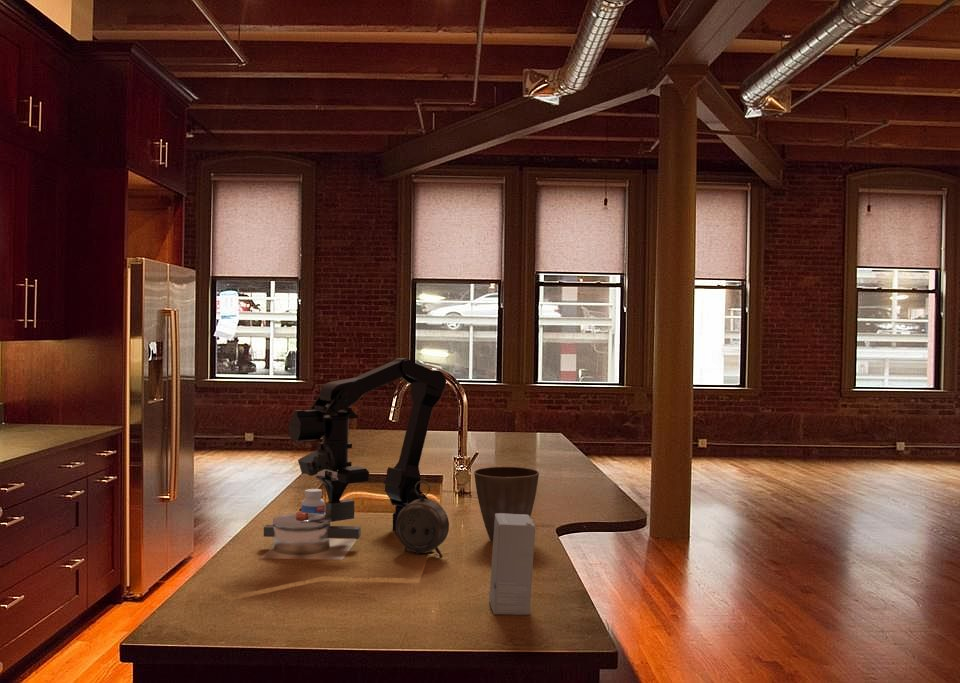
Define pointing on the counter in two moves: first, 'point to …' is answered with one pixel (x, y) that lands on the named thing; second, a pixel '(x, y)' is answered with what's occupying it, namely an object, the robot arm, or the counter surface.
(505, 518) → the skincare box
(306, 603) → the counter surface
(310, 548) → the cooker pot
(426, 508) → the alarm clock
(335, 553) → the trivet
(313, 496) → the pill bottle
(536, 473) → the plant pot
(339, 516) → the lid
